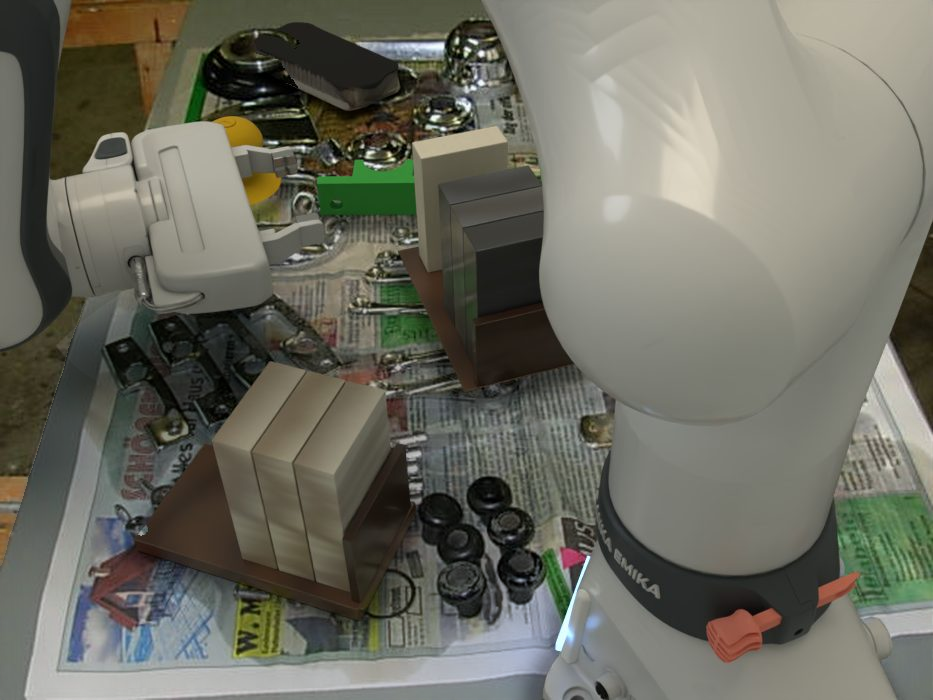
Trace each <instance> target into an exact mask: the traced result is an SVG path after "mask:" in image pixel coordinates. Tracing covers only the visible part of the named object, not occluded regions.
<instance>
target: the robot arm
mask: <svg viewBox="0 0 933 700" xmlns="http://www.w3.org/2000/svg"><path fill="white" fill-rule="evenodd" d="M479 1H480V3H481V4H482V6H483V9H484V10H485V12H486V15H487V17H488V19H489V20H490V22H491V24H492V27H493V28H494V30H495V32H496V35H497V37H498V39H499V42H500V44H501V46H502V49H503V52H504V54H505V56H506V59H507V61H508V64H509V67H510V70H511V72H512V75H513V78H514V81H515V83H516V86H517V89H518V92H519V95H520V99H521V102H522V105H523V107H524V111H525V114H526V118H527V121H528V122H527V123H528V125H529V128H530V132H531V136H532V140H533V144H534V149H535V153H536V157H537V158H536V159H537V162H538V167H539V174H540V182H541V184H542V190H543V203H544V227H543V241H542V250H541V258H540V267H539V282H540V290H541V297H542V301H543V305H544V308H545V311H546V314H547V317H548V319H549V322H550V324H551V326H552V328H553V330H554V333H555V335H556V337H557V338H558V340H559V342H560V344H561V345H562V347H563V349H564V350H565V351H566V353H567V354H568V356H569V357H570V358H571V360H572V361H573V362H574V364H575V365H574V366H576V367H577V369H579V370H580V372H582V374H583V375H584V376H585V377H586V378H587V379H588V380H589V381H590V382H592V384H594V385H595V386H596V387H597V388H598V389H600V390H601V391H602V392H603V393H605V394H607V396H609V397H611V398H612V399H614V400H615V402H614V403H615V404H614V405H615V406H614V414H613V426H612V436H611V445H610V446H611V447H610V450H609V451H608V453H607V455H606V457H605V459H604V462H603V465H602V469H601V473H600V479H598V481H597V486H596V491H595V492H596V493H595V504H594V510H595V532H596V541H595V543H594V546H593V548H592V551H591V554H590V555H587V556H586V559H585V562H584V564H583V567H582V569H581V572H580V576H579V578H578V581H577V583H576V586H575V588H574V592H573V594H572V598H571V600H570V603H569V606H568V609H567V612H566V615H565V616H564V617H565V618H564V620H563V623H562V625H561V628H560V630H559V633H558V636H557V639H556V642H555V650H556V651H558V652H559V653H558V654H557V655H558V656H557V657H556V659H555V660H554V662H553V663H552V664H551V666H550V668H549V670H548V672H547V674H546V677H545V680H544V683H543V688H542V699H543V700H898V698H897V696H896V693H895V691H894V690H893V686H892V685H891V682H890V680H889V678H888V676H887V673H886V671H885V668H884V666H883V665H882V662H881V661H883V660H886V659H888V658H889V657H890V656H891V655H892V653H893V641H892V637H891V634H890V630H889V629H888V628H887V627H888V626H886V623H884V621H883V620H882V619H880V618H879V617H877V616H868V617H864V618H861V616H860V613H859V612H858V610H857V607H856V605H855V603H854V600H853V599H852V596H851V594H850V592H851V591H852V590H853V589H854V588H856V587H857V583H856V582H855V581H856V580H857V579H859V577H860V576H861V573H860V572H859V571H854V572H853V571H852V572H851V573H848V574H845V572H846V568H845V563H844V561H843V559H842V557H841V556H840V549H839V535H838V533H839V532H838V518H839V517H838V513H837V510H836V502H835V493H836V490H837V486H838V484H839V481H840V477H841V474H842V470H843V467H844V464H845V461H846V458H847V456H848V455H847V454H848V451H849V448H850V445H851V441H852V438H853V435H854V431H855V429H856V426H857V422H858V418H859V416H860V413H861V410H862V407H863V404H864V402H865V399H866V396H867V394H868V391H869V389H870V387H871V384H872V382H873V378H874V377H875V375H876V371H877V369H878V366H879V363H880V361H881V358H882V355H883V354H884V351H885V348H886V345H887V343H888V340H889V338H890V336H891V332H892V330H893V327H894V325H895V322H896V319H897V317H898V314H899V311H900V309H901V306H902V304H903V301H904V298H905V296H906V293H907V291H908V288H909V285H910V283H911V280H912V277H913V275H914V272H915V269H916V267H917V264H918V262H919V258H920V256H921V254H922V250H923V248H924V245H925V242H926V240H927V237H928V234H929V232H930V229H931V227H932V223H933V0H479ZM71 6H72V0H0V353H3V352H8V351H11V350H14V349H16V348H19V347H21V346H23V345H24V344H26V343H28V342H30V341H31V340H33V339H34V338H36V337H37V336H38V335H40V334H41V333H42V332H44V331H45V330H46V329H47V328H48V327H50V325H52V323H54V322H55V320H56V319H58V317H59V316H60V315H61V314H62V313H63V311H64V310H65V309H66V308H67V306H68V305H69V303H70V301H71V299H72V298H95V297H101V296H105V295H110V294H114V293H115V294H116V293H119V292H124V291H127V290H128V291H129V290H133V294H134V297H135V301H136V302H137V303H138V305H140V306H142V307H145V308H147V309H148V310H150V311H153V312H156V313H157V314H160V315H164V314H165V315H166V314H171V313H177V314H182V315H194V314H197V315H198V314H207V313H208V314H209V313H218V312H225V311H233V310H241V309H244V308H250V307H256V306H259V305H262V304H263V303H264V302H266V301H267V300H268V299H269V298H271V297H272V296H273V295H274V291H275V290H274V284H273V278H272V273H271V268H270V266H271V265H272V266H273V265H276V264H281V263H283V262H285V261H286V260H288V259H289V258H291V257H292V256H293V255H294V254H296V253H297V252H299V251H300V250H302V249H303V248H304V247H310V246H313V245H319V244H322V243H323V242H324V241H325V239H326V234H325V227H324V223H323V221H322V219H321V215H320V214H319V213H318V212H315V211H314V212H310V213H308V214H298V215H295V216H294V218H295V222H294V223H292V224H290V225H289V226H286V227H285V228H282V229H281V230H279V231H277V232H276V230H275V228H268V229H263V230H259V228H258V224H257V222H256V218H255V215H254V213H253V210H252V207H251V206H252V205H250V203H249V200H248V197H247V194H246V191H245V188H244V185H243V182H242V178H247V177H251V176H252V172H256V173H275V175H276V177H277V178H280V177H281V178H284V177H287V176H295V175H296V174H297V173H298V171H299V167H298V161H297V156H296V154H295V151H294V149H293V148H292V147H291V146H288V145H287V146H282V147H277V148H272V149H271V148H267V147H263V148H262V147H256V146H249V145H243V146H237V147H232V148H231V145H230V142H229V139H228V136H227V133H226V130H225V127H224V126H223V125H221V124H218V123H213V121H207V120H204V121H201V120H200V121H193V122H186V123H178V124H172V125H166V126H161V127H156V128H151V129H147V130H144V131H142V132H139V133H137V134H136V135H135V136H134V137H132V140H131V141H130V138H129V135H128V134H127V133H126V132H122V131H119V132H112V133H107V134H103V135H102V136H100V137H99V139H98V141H97V142H96V145H95V147H94V149H93V152H92V154H91V156H90V158H89V160H88V161H87V162H86V164H85V165H84V166H83V168H82V171H81V172H82V173H79V174H75V175H74V174H73V175H68V176H65V177H62V178H57V179H51V176H50V172H51V159H52V145H53V132H54V131H53V129H54V118H55V107H56V96H57V95H56V94H57V84H58V72H59V67H60V61H61V58H62V52H63V47H64V42H65V37H66V32H67V27H68V22H69V17H70V13H71V12H70V11H71ZM152 301H153V302H152Z"/></svg>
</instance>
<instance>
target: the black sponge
mask: <svg viewBox="0 0 933 700" xmlns="http://www.w3.org/2000/svg"><path fill="white" fill-rule="evenodd" d="M274 30H276V31H282V32H285V33H287V34H289V35H290V36H291V37H293V38H295V39H296V40H299V41H298V42H299V43H300V44H298V45H297V46H296V47H297V48H296V47H295V48H296V49H294V48H293V47H292V46H291V45H289V44H291V43H287V41H285V40H283V38H278V37H271V36H269V35H263V34H261V35H259V36H257V37H256V38H254V39H253V42H252V43H253V52H254V51H255V52H256V54H259V55H263V56H266V57H271V58H272V57H273V58H275V59H278V60H279V61H280V62H281V63H282V66H283V68H285V70H286V71H287V73H288V74H289V75H290V77H291V79H293V80H294V82H295V84H296V85H297V86H298V88H297V89H298V90H300V91H302V92H305V93H307V94H308V95H311V96H312V97H314V98H317V99H319V100H321V101H323V102H325V103H327V104H331V105H332V106H334V107H337V108H339V109H341V110H343V111H346V112H351V111H356V110H360V109H364V108H366V107H369V106H371V105H372V104H374V103H376V102H378V101H381V100H383V99H384V98H387V97H390V96H392V95H394V94H397V93H398V92H399V91H400V89H401V85H400V80H399V74H398V71H399V63H398V62H396V61H395V60H393V59H390V58H388V57H386V56H385V55H382V54H379V53H377V52H375V51H373V50H371V49H368V48H365V47H363V46H361V45H358V44H357V43H354V42H352V41H349V40H347V39H345V38H343V37H341V36H338V35H336V34H334V33H331V32H329V31H326V30H324V29H323V28H320V27H318V26H316V25H315V24H313V23H310V22H301V21H293V22H288V23H285V24H283V25H282V26H279V27H278V28H275V29H274ZM286 84H287V85H290V86H292V85H291V84H288V83H286ZM293 88H296V87H295V86H293Z"/></svg>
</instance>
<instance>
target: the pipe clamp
mask: <svg viewBox="0 0 933 700" xmlns="http://www.w3.org/2000/svg"><path fill="white" fill-rule="evenodd" d="M364 161H365V160H364V159H354V162H353V163H354V164H353V170H352V175H338V176H336V175H335V176H333V175H331V176H329V175H328V176H327V175H324V176H317V181H316V190H317V197H318V204H319V211H320V216H405V215H407V216H408V215H409V216H411V215H413V216H415V215H416V216H417V211H416V196H415V181H414V165H413V158H405V160H404V162H403V164H401V165H400V166H398V167H396V168H393V169H390V170H375V169H373V168H369V167H368V166H367V165H365V162H364ZM335 201H338V202H335Z"/></svg>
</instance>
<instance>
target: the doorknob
mask: <svg viewBox="0 0 933 700" xmlns="http://www.w3.org/2000/svg"><path fill="white" fill-rule="evenodd" d="M212 122H213V123H218V124H221V125H223V126H224V127H225V130H226V133H227V136H228V139H229V142H230V145H231V148H232V147H237V146H243V145H249V146H256V147H262V148H264V138H263V134H262V132H261V130H260V129H259V128H258V127H257V125H256V124H254V122H252V121H251V120H249V119H247V118H244V117H242V116H235V115H229V116H228V115H227V116H223V117H220V118H217V119H215V120H213V121H212ZM242 182H243V185H244V188H245V191H246V194H247V197H248V200H249V203H250V206H252V205H255V204H259V203H260V202H263V201H266V200H267V199H268V198H270V197H271V196H273V195H274V194H275V193H276V192H277V191H278V189H279V188H280V186H281V183H282V177H280V178H277V177H276V175H275V173H256V172H252V176H251V177H247V178H242Z"/></svg>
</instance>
